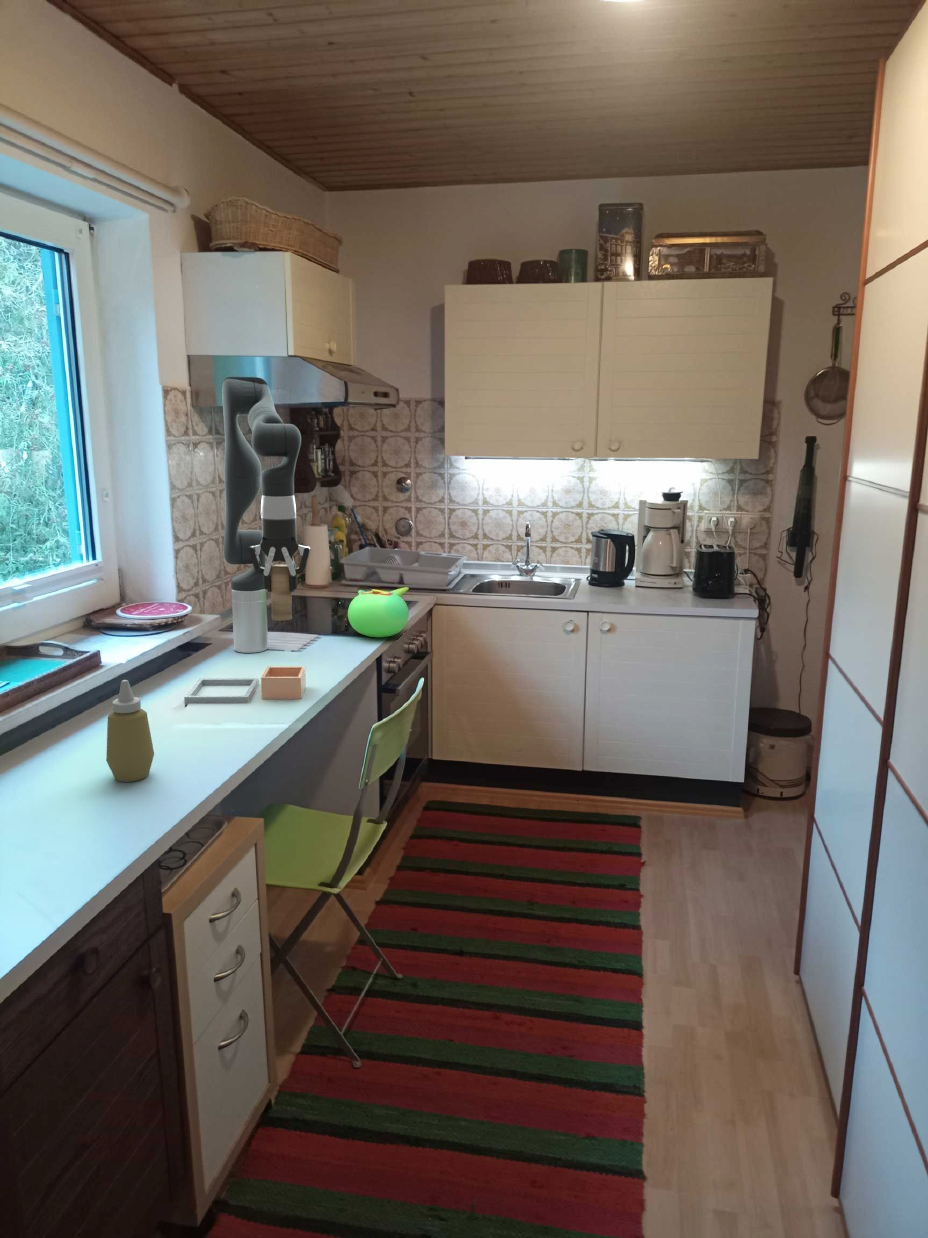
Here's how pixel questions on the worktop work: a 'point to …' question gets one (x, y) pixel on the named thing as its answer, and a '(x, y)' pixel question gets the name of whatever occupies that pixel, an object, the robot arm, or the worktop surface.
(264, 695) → the terracotta box
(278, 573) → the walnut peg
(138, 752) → the squeeze bottle
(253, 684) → the slate tray
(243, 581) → the robot arm
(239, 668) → the worktop surface
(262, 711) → the worktop surface
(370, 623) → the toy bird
